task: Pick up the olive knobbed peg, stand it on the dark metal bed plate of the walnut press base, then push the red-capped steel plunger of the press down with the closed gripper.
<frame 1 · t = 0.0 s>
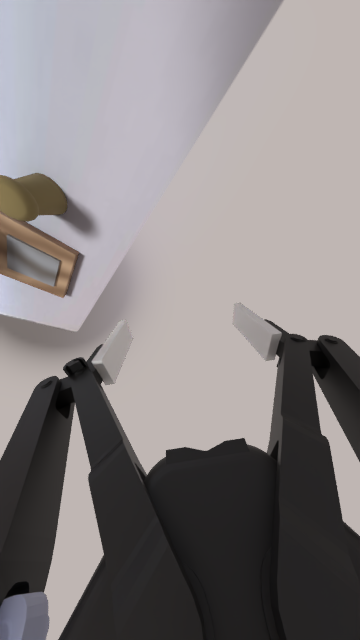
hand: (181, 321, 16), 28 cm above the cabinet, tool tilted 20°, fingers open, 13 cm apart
olive knobbed peg: (49, 195, 26), on the cabinet
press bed: (6, 244, 31), on the cabinet
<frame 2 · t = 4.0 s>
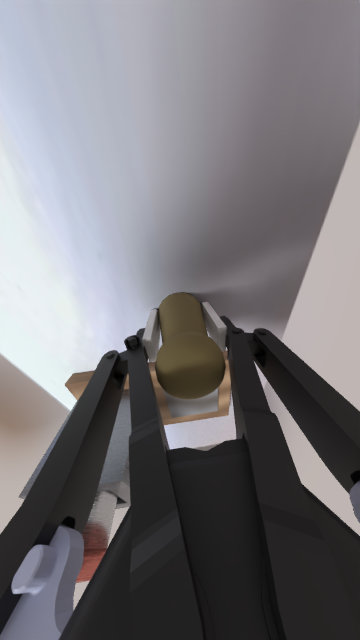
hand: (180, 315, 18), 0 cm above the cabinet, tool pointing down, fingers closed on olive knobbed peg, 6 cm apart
olive knobbed peg: (180, 313, 18), on the cabinet, touching gripper
press plunger: (94, 495, 15), point 12 cm above the cabinet, slide at 0.0 cm
grey square pillar: (124, 397, 26), resting on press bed
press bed: (160, 392, 26), on the cabinet
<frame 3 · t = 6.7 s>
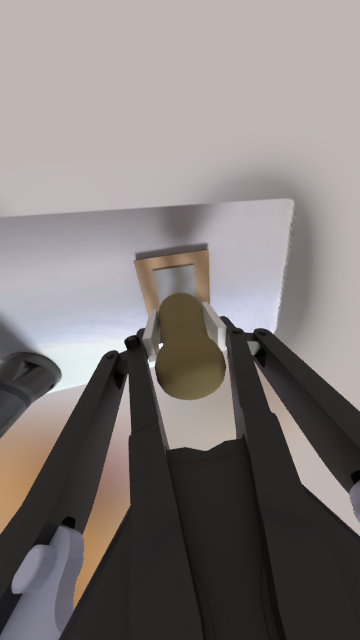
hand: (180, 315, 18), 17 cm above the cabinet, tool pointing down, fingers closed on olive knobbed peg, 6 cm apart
olive knobbed peg: (180, 313, 18), point 16 cm above the cabinet, touching gripper
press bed: (178, 308, 36), on the cabinet
when the fingers open (4 cm above the cabinet, at t = 9.7 s): olive knobbed peg drops 1 cm, resting on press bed.
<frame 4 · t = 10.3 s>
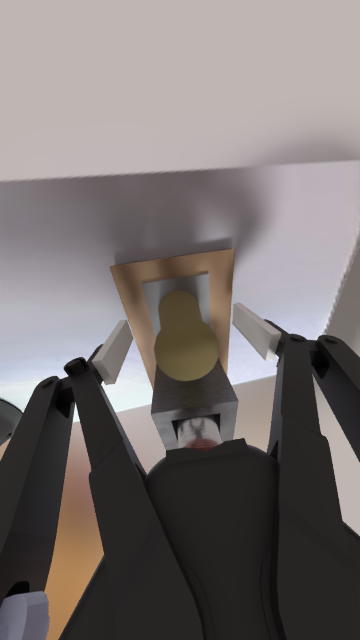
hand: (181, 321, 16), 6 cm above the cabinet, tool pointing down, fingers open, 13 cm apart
olive knobbed peg: (178, 310, 19), point 3 cm above the cabinet, touching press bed
press plunger: (196, 425, 18), point 12 cm above the cabinet, slide at 0.0 cm
grey square pillar: (186, 361, 28), resting on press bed
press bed: (182, 333, 25), on the cabinet
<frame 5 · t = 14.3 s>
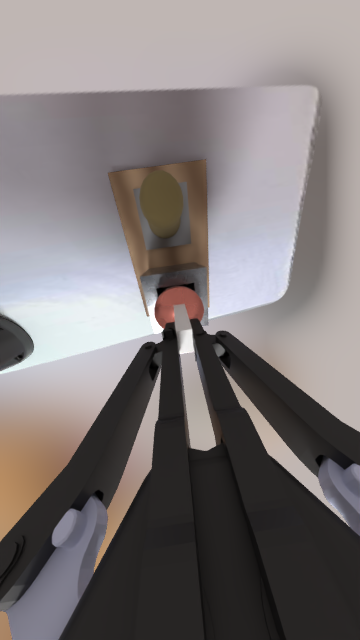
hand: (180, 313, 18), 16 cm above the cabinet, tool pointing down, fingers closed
olive knobbed peg: (164, 219, 24), point 2 cm above the cabinet, touching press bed
press plunger: (177, 301, 23), point 11 cm above the cabinet, slide at 0.5 cm, touching gripper
grey square pillar: (174, 286, 32), resting on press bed
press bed: (169, 254, 29), on the cabinet
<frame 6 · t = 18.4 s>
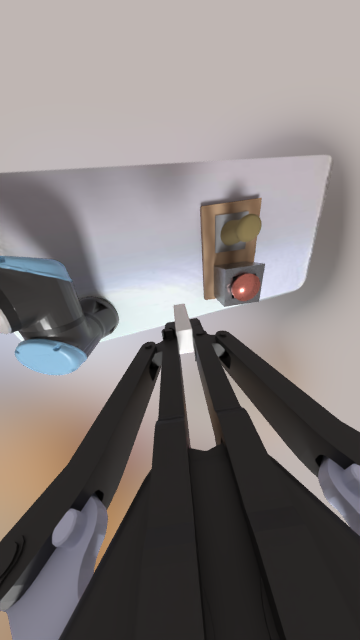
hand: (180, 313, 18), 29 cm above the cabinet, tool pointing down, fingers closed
olive knobbed peg: (230, 233, 38), point 2 cm above the cabinet, touching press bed
press plunger: (238, 284, 38), point 9 cm above the cabinet, slide at 2.5 cm
grey square pillar: (226, 278, 46), resting on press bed
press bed: (226, 256, 42), on the cabinet
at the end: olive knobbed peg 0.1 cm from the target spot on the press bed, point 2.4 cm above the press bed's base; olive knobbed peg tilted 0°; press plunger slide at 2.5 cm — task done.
